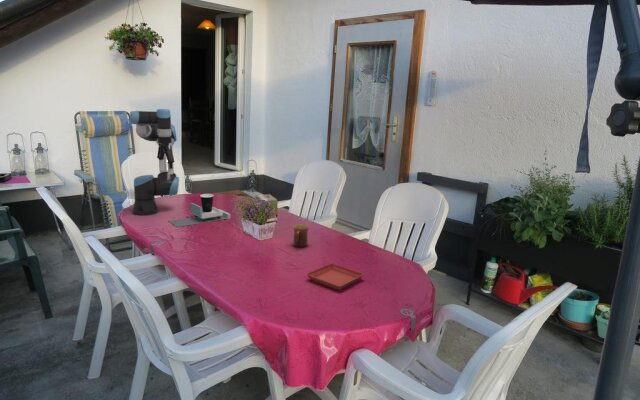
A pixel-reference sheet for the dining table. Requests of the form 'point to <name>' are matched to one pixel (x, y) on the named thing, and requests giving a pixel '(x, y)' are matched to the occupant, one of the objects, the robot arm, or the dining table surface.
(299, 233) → the mug
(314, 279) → the plant saucer
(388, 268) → the dining table surface
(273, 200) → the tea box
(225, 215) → the track
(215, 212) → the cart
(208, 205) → the dixie cup
